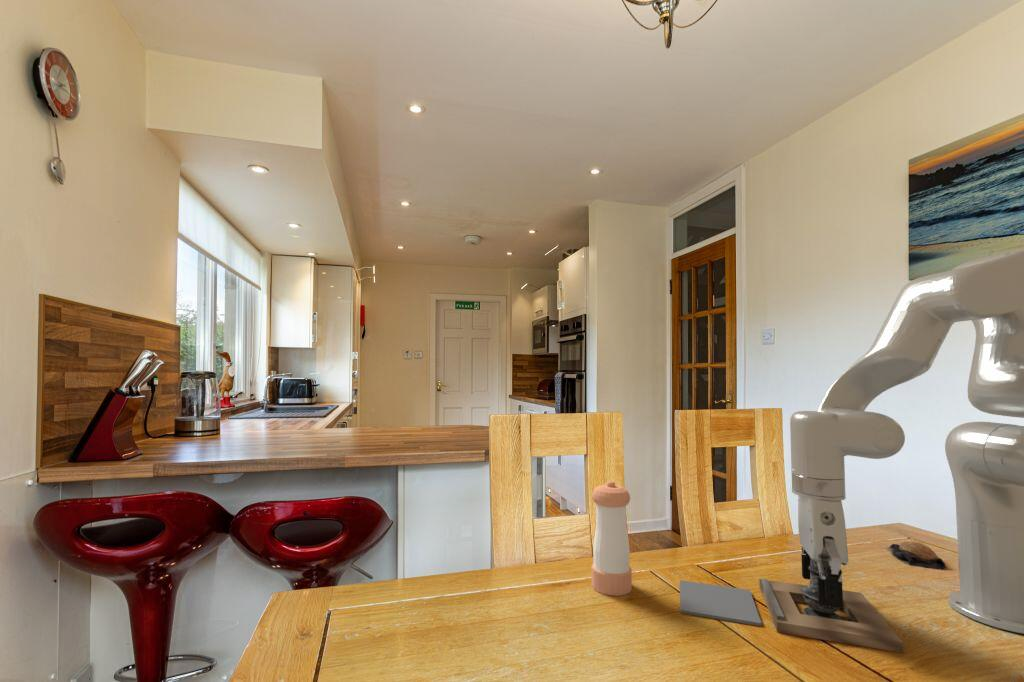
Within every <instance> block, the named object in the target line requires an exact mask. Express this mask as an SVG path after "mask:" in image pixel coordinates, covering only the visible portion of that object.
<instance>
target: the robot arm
mask: <svg viewBox="0 0 1024 682" xmlns="http://www.w3.org/2000/svg"><path fill="white" fill-rule="evenodd" d="M968 321H971V322H972V324H973V326H974V329H975V340H974V341H975V343H974V349H973V355H972V361H971V366H970V372H969V375H968V383H967V397H968V398H967V399H968V401H969V402H970V404H971V405H972V406H973V407H974V408H975V409H976V410H979V411H980V412H983V413H986V414H989V415H996V416H1003V417H1011V418H1021V419H1024V248H1023V247H1022V248H1018V249H1014V250H1011V251H1006V252H1001V253H997V254H992V255H989V256H984V257H980V258H975V259H972V260H970V261H966V262H963V263H961V264H959V265H957V266H955V267H953V268H952V269H951V270H950V269H949V270H946V271H942V272H938V273H932V274H928V275H924V276H921V277H918V278H915V279H912V280H911V281H909V282H908V283H906V284H905V285H904V286H903V287H902V289H900V291H899V292H898V295H897V296H896V298H895V301H894V302H893V305H891V308H890V310H889V312H888V313H887V316H886V318H885V319H884V322H883V324H882V326H881V328H880V329H879V332H878V333H877V335H876V337H875V339H874V342H873V343H872V345H871V346H870V348H869V350H868V351H867V352H866V353H864V354H863V355H862V356H860V358H859V359H857V360H856V361H855V362H854V363H852V364H851V365H850V366H849V367H848V368H847V369H846V370H845V371H844V372H843V373H842V374H841V375H839V376H838V377H837V378H836V380H834V382H833V383H832V384H831V385H830V387H829V388H828V390H827V391H826V393H825V395H824V397H823V399H822V401H821V403H820V404H819V406H818V409H817V410H802V411H800V410H799V411H796V412H793V413H792V414H791V416H790V420H789V423H790V424H789V427H790V428H789V430H790V431H789V432H790V435H789V436H790V462H791V463H790V464H791V465H790V466H791V492H792V493H793V494H794V495H797V496H798V497H797V498H798V499H797V502H798V503H797V506H798V507H797V508H798V509H797V514H798V515H797V518H798V521H797V523H798V537H799V538H798V539H799V543H800V545H801V553H802V554H800V555H801V556H800V557H801V577H802V578H803V580H808V581H810V570H809V569H808V566H810V557H811V558H812V559H813V560H814V561H816V562H817V565H818V570H819V575H820V577H817V584H818V602H819V604H821V605H825V606H832V607H839V609H842V607H843V590H844V589H843V576H842V575H843V571H842V569H841V565H842V566H847V565H848V564H849V552H848V541H847V540H848V539H847V538H848V537H847V531H846V529H847V527H846V519H845V512H844V508H843V502H842V501H845V500H846V474H845V473H846V472H845V471H846V470H845V469H846V468H845V457H846V456H851V457H858V458H859V457H860V458H866V459H873V460H876V459H877V460H880V459H887V458H890V457H893V456H895V455H896V454H898V453H899V452H900V451H901V450H902V448H903V447H904V444H905V442H906V441H905V440H906V436H905V435H906V434H905V432H904V429H903V427H902V425H901V424H899V423H898V422H897V421H896V420H895V419H894V418H892V417H890V416H888V415H886V414H882V413H879V412H873V411H865V410H866V409H867V407H869V405H870V404H871V403H872V402H873V401H874V400H875V399H876V398H877V397H878V396H880V395H881V394H882V393H884V392H886V391H888V390H889V389H890V390H891V389H892V388H894V387H896V386H900V385H901V384H905V383H907V382H909V381H911V380H913V379H915V378H917V377H920V376H922V375H923V374H926V373H927V372H928V371H929V370H930V369H931V368H932V366H933V363H934V362H935V359H936V357H937V356H938V354H939V351H940V349H941V347H942V345H943V343H944V341H945V339H946V337H947V336H948V334H949V332H950V330H951V328H952V327H953V324H955V323H960V322H968ZM944 451H945V456H946V460H947V463H948V466H949V470H950V473H951V477H952V481H953V488H954V496H955V497H954V499H955V510H956V511H955V513H956V514H955V515H956V517H955V518H956V535H957V557H958V572H959V573H958V575H959V590H958V591H953V592H951V593H949V594H948V597H947V598H948V604H949V605H950V607H952V608H953V609H954V610H955V611H957V612H958V613H960V614H962V615H964V616H966V618H970V619H972V620H974V621H977V622H978V623H979V622H980V623H982V624H984V625H988V626H991V627H993V628H997V629H1000V630H1004V631H1008V632H1013V633H1018V634H1023V635H1024V425H1018V424H1011V423H1003V422H1001V423H1000V422H991V421H969V422H965V423H962V424H959V425H957V426H955V427H954V428H953V429H952V430H951V431H949V433H948V434H947V436H946V438H945V443H944ZM820 556H822V557H828V558H821V557H820ZM823 564H826V565H829V566H826V568H825V571H824V566H823Z"/></svg>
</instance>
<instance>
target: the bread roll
mask: <svg viewBox="0 0 1024 682" xmlns="http://www.w3.org/2000/svg"><path fill="white" fill-rule="evenodd" d="M886 550H887V551H888V552H889V553H890V554H891V555H892V556H894V557H895V558H896V559H897V560H899V561H900V562H902V563H903V564H905V565H908V566H912V567H917V568H918V567H919V568H924V569H927V568H928V569H932V570H944V571H948V570H949V569H948V568H947V566H946V563H945V562H944V561H943V559H942V558H940V557H939V556H938V555H937V554H936V553H935V551H933V549H931V548H930V547H929V546H927V545H925V544H923V543H920V542H915V541H904V542H901V543H900V544H897V543H892V544H891V545H890V546H889V547H886Z"/></svg>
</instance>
